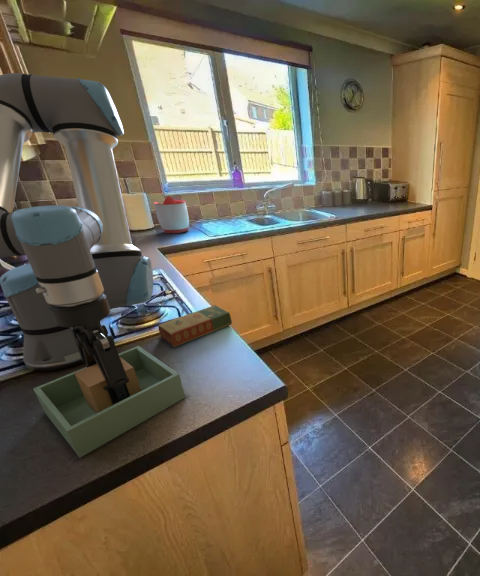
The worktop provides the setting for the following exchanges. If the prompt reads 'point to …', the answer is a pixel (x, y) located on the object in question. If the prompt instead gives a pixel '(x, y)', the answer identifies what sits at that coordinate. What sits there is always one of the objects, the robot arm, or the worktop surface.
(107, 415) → the basket
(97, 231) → the robot arm
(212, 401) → the worktop surface
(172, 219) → the citrus juicer
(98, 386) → the box
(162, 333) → the carton
